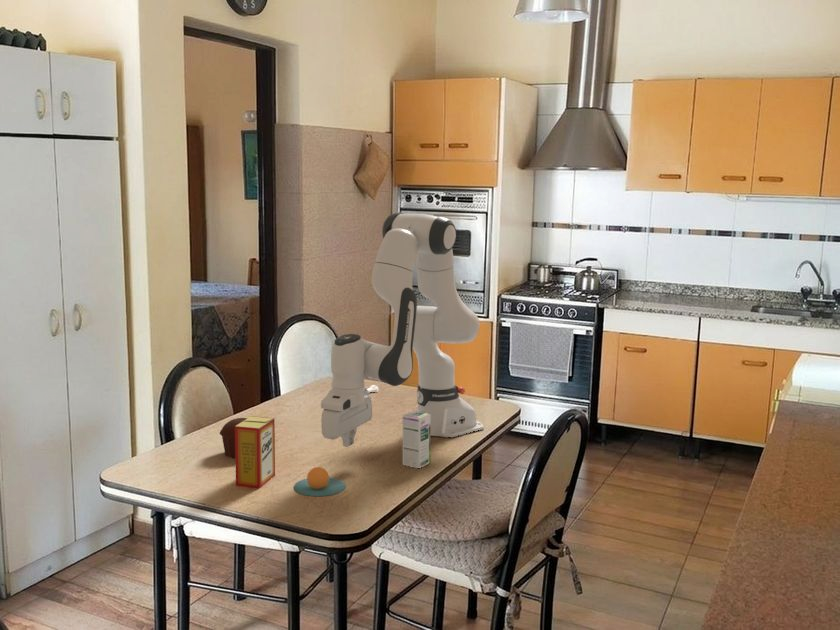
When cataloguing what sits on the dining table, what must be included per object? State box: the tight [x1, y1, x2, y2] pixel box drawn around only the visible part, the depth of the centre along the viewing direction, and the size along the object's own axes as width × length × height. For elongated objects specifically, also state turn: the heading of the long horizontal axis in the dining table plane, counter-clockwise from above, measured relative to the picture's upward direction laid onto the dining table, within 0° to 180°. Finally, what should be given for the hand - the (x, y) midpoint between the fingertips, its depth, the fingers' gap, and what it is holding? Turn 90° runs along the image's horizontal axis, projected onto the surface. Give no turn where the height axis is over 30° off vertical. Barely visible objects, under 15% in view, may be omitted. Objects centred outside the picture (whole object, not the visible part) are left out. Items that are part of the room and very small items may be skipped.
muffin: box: [219, 417, 249, 459], centre depth 232 cm, size 12×11×10 cm
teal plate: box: [293, 476, 347, 497], centre depth 209 cm, size 13×13×1 cm
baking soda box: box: [234, 415, 276, 489], centre depth 211 cm, size 10×6×16 cm
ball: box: [306, 466, 330, 489], centre depth 207 cm, size 6×6×6 cm
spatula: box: [366, 384, 379, 394], centre depth 293 cm, size 28×4×3 cm, turn 152°
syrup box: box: [402, 410, 432, 469], centre depth 226 cm, size 6×6×14 cm
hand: (348, 445), depth 221 cm, fingers closed
